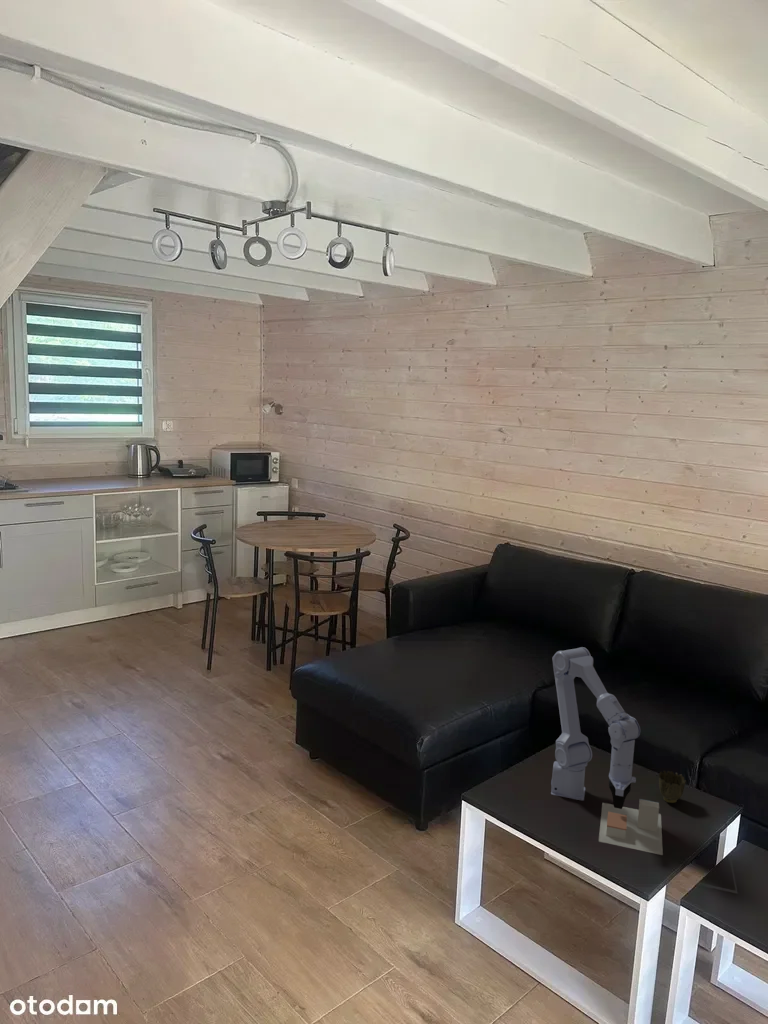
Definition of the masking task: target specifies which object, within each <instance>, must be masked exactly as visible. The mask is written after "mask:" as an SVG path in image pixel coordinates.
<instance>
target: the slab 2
mask: <svg viewBox="0 0 768 1024" xmlns="http://www.w3.org/2000/svg"><path fill="white" fill-rule="evenodd" d="M638 802H639V803H638V810H639V812H638V828H641V829H646V830H651V831H656V832H657V825H658V814H660V813H659V812H660V802H659V801H653V800H649V799H644V798H639V801H638Z"/></svg>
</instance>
